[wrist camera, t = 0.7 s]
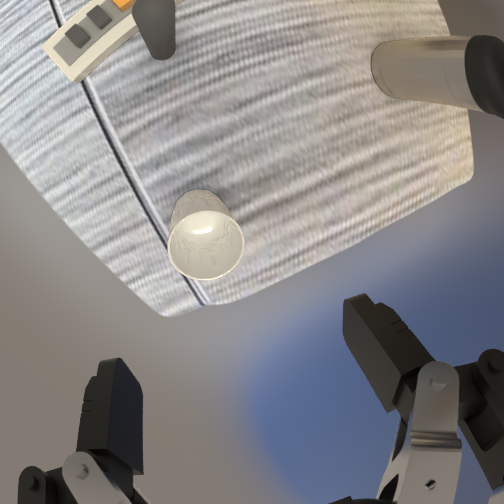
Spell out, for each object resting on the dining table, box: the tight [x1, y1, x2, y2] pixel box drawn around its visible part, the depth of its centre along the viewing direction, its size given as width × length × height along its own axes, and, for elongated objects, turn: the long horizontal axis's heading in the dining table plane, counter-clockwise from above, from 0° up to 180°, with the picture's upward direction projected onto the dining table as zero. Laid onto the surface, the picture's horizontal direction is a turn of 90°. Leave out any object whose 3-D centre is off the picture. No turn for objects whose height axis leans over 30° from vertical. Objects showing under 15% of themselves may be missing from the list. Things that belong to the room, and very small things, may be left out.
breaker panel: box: [42, 0, 183, 83], centre depth 22 cm, size 20×7×5 cm, turn 127°
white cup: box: [168, 189, 245, 281], centre depth 34 cm, size 8×8×10 cm
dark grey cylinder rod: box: [132, 0, 175, 60], centre depth 21 cm, size 3×3×16 cm
